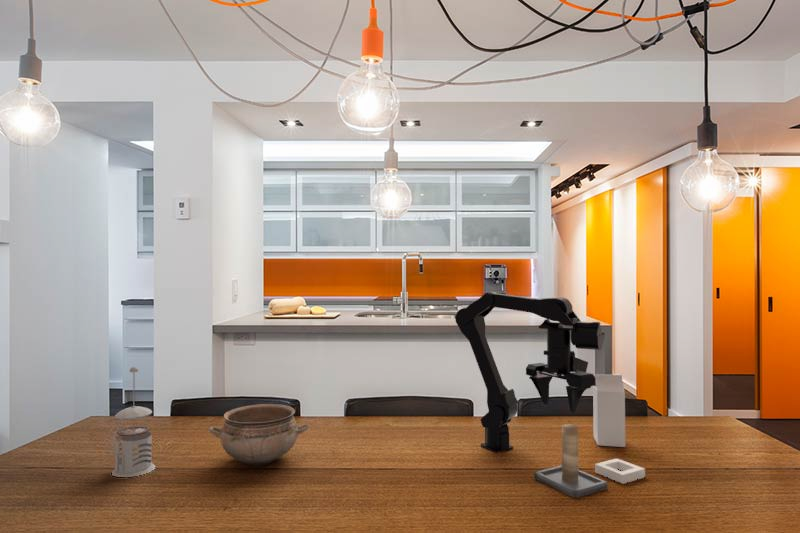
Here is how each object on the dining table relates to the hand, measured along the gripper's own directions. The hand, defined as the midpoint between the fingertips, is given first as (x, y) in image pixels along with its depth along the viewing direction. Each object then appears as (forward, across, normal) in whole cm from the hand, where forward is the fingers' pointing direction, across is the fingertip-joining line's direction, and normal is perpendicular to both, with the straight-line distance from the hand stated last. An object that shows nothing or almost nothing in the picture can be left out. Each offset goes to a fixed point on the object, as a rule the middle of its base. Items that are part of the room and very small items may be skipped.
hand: (559, 408), depth 131 cm
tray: (+13, -12, +9) cm, 20 cm away
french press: (+13, +44, +96) cm, 106 cm away
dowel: (+12, -12, +9) cm, 19 cm away
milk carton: (+13, +3, -22) cm, 26 cm away
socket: (+13, -14, -5) cm, 20 cm away
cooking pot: (+13, +36, +67) cm, 77 cm away
